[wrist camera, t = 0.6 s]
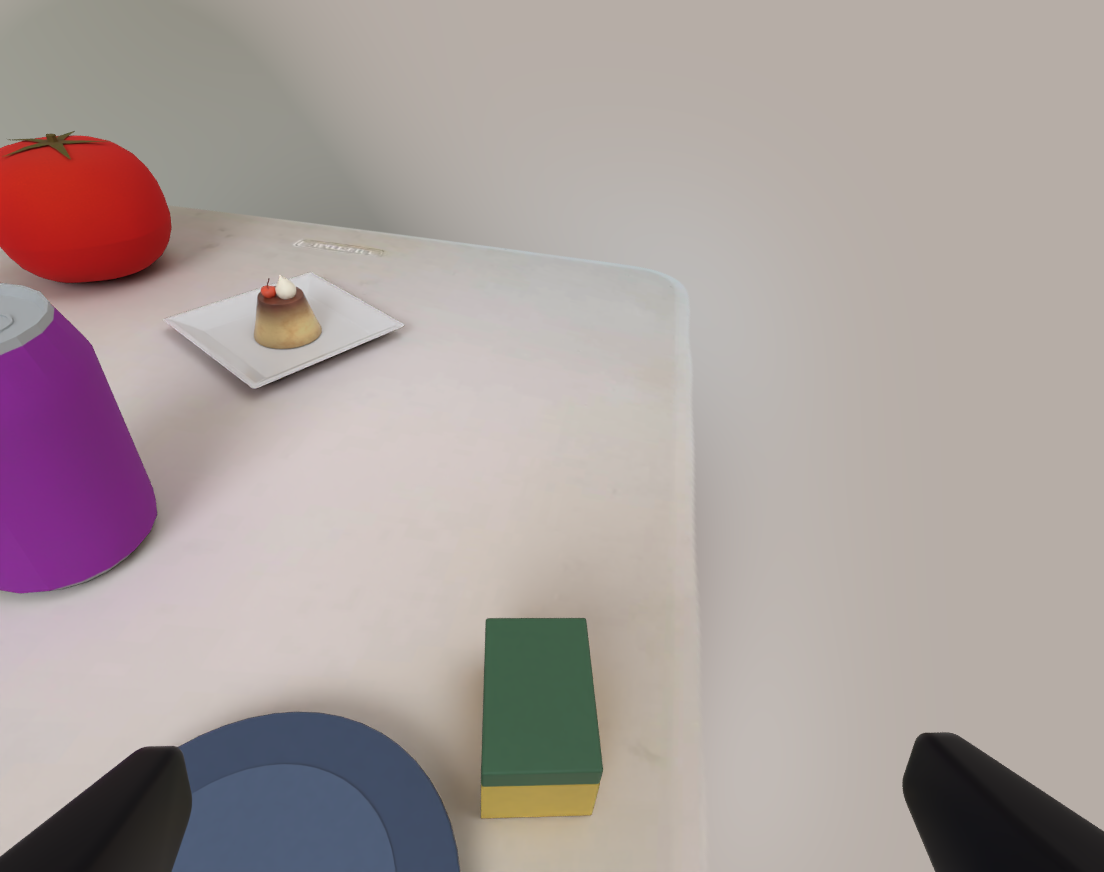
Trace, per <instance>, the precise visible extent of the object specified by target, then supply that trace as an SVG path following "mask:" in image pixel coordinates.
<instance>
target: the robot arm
mask: <svg viewBox="0 0 1104 872" xmlns="http://www.w3.org/2000/svg"><path fill="white" fill-rule="evenodd" d="M903 794H904V797H905V801H906V803H907V806H908V808H909V811H910V813H911V815H912V817H913V820H914V822H915V825H916V827H917V830H918V832H919V834H920V837H921V839H922V841H923V844H924V846H925V849H926V851H927V853H928V855H929V858H930V860H931V863H932V865H933V867H934V870H935V872H1104V831H1102V830H1101V829H1099V828H1098V827H1096V826H1095V825H1093V824H1092V823H1090V822H1089V821H1087V820H1086V819H1084V818H1082V817H1081V816H1079V815H1078V814H1076V813H1075V812H1073V811H1072V810H1070V809H1069V808H1067V807H1066V806H1064V805H1063V804H1061V803H1060V802H1058V801H1057V800H1055V799H1054V798H1052V797H1051V796H1049V795H1048V794H1046V793H1045V792H1043V791H1041V790H1040V789H1039V788H1037V787H1035V786H1034V785H1032V784H1031V783H1030V782H1028V781H1026V780H1025V779H1023V778H1022V777H1020V776H1019V775H1017V774H1016V773H1014V772H1013V771H1011V770H1010V769H1008V768H1007V767H1005V766H1004V765H1002V764H1001V763H999V762H998V761H996V760H995V759H993V758H992V757H990V756H989V755H987V754H986V753H984V752H982V751H981V750H980V749H978V748H976V747H975V746H973V745H972V744H970V743H969V742H967V741H966V740H964V739H963V738H961V737H960V736H958V735H956V734H953V733H923V734H921V735H919V736H918V737H917V738H916V741H915V743H914V746H913V749H912V753H911V756H910V758H909V761H908V764H907V767H906V770H905V773H904V776H903ZM191 809H192V793H191V788H190V784H189V779H188V774H187V769H186V765H185V760H184V756H183V753H182V751H181V750H180V749H179V748H178V747H175V746H151V747H143V748H141V749H139V750H137V751H135V752H134V753H132V754H131V755H130V756H128V757H127V758H126V759H125V760H123V761H122V762H121V763H119V764H118V765H117V766H116V767H114V768H113V769H112V770H110V771H109V772H108V773H107V774H105V775H104V776H103V777H102V778H100V779H99V780H98V781H96V782H95V783H94V784H93V785H91V786H90V787H89V788H87V789H86V790H85V791H84V792H82V793H81V794H80V795H78V796H77V797H76V798H75V799H73V800H72V801H71V802H70V803H68V804H67V805H66V806H64V807H63V808H62V809H61V810H59V811H58V812H57V813H55V814H54V815H53V816H52V817H50V818H49V819H48V820H46V821H45V822H44V823H43V824H41V825H40V826H39V827H38V828H36V829H35V830H34V831H32V832H31V833H30V834H29V835H27V836H26V837H25V838H23V839H22V840H21V841H20V842H18V843H17V844H16V845H14V846H13V847H12V848H11V849H9V850H8V851H7V852H6V853H4V854H3V855H2V856H0V872H172V869H173V866H174V863H175V860H176V857H177V854H178V851H179V848H180V845H181V842H182V839H183V837H184V834H185V831H186V828H187V825H188V822H189V818H190V814H191Z"/></svg>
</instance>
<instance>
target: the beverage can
mask: <svg viewBox="0 0 1104 872" xmlns="http://www.w3.org/2000/svg"><path fill="white" fill-rule="evenodd" d="M156 516H157V508H156V499H155V495H154V491H153V487H152V485H151V483H150V480H149V478H148V475H147V473H146V471H145V468H144V466H143V464H142V461H141V459H140V457H139V454H138V452H137V450H136V447H135V445H134V443H133V440H132V438H131V436H130V433H129V431H128V429H127V426H126V424H125V422H124V419H123V417H122V415H121V412H120V410H119V407H118V405H117V403H116V400H115V398H114V396H113V393H112V391H111V389H110V386H109V384H108V382H107V379H106V377H105V375H104V372H103V370H102V368H101V365H100V363H99V361H98V358H97V356H96V354H95V351H94V349H93V347H92V345H91V344H90V342H89V341H88V340H87V339H86V338H85V337H84V336H83V335H82V334H81V333H80V332H79V331H78V330H77V329H76V328H75V327H74V326H73V325H72V324H71V323H70V322H69V321H68V320H67V319H66V318H65V317H64V316H63V315H62V314H61V313H60V312H59V311H58V310H57V309H56V308H55V307H53V306H52V305H51V304H50V302H49V301H48V300H47V299H46V298H45V296H44V295H43V294H42V293H41V292H39V291H37V290H34V289H31V288H29V287H26V286H22V285H14V284H7V283H0V590H2V591H9V592H15V593H30V592H41V591H51V590H58V589H63V588H67V587H70V586H74V585H77V584H81V583H84V582H87V581H89V580H91V579H93V578H95V577H97V576H99V575H101V574H103V573H105V572H107V571H109V570H111V569H112V568H113V567H115V566H116V565H117V564H119V563H120V562H121V561H123V560H124V559H125V558H127V557H128V556H129V555H130V554H131V552H133V551H134V550H135V549H136V548H137V547H138V546H139V544H140V543H141V542H142V541H143V540H144V539H145V537H146V536H147V535H148V534H149V533H150V531H151V529H152V526H153V524H154V521H155V519H156Z"/></svg>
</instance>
